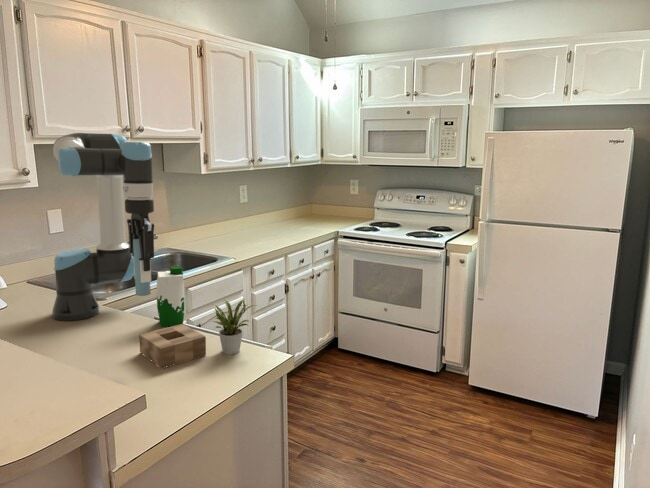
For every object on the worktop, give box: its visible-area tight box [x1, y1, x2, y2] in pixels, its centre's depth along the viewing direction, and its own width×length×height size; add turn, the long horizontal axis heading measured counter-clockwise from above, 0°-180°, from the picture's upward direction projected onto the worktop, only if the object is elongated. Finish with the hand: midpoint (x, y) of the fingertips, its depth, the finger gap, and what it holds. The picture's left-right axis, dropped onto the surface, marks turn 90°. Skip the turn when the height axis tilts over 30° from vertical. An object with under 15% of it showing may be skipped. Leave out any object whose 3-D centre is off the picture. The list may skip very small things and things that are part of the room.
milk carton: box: [156, 265, 185, 328], centre depth 170 cm, size 9×9×20 cm
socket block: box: [138, 323, 207, 369], centre depth 146 cm, size 14×14×6 cm
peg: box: [133, 238, 152, 297], centre depth 139 cm, size 4×4×16 cm
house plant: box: [212, 298, 259, 355], centre depth 149 cm, size 14×14×16 cm
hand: (142, 279), depth 140 cm, fingers closed on peg, 4 cm apart
